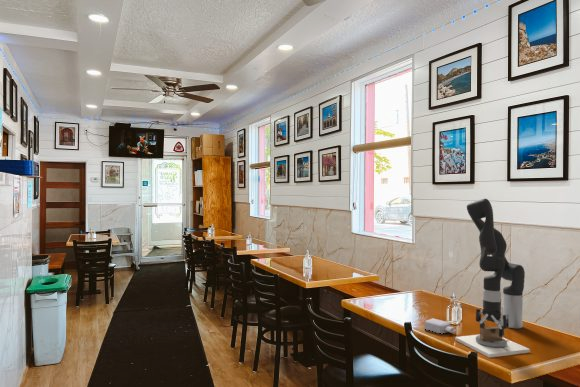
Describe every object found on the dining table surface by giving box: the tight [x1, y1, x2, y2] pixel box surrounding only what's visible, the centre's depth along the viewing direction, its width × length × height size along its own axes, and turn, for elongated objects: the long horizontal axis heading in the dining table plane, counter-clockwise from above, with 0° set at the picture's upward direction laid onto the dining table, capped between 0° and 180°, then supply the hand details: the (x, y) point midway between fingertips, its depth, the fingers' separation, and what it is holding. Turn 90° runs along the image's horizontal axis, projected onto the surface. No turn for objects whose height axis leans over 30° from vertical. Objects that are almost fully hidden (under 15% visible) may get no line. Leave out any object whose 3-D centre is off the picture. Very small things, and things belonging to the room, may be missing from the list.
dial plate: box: [454, 333, 531, 359], centre depth 192 cm, size 22×22×2 cm
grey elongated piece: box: [423, 317, 458, 335], centre depth 212 cm, size 5×9×15 cm
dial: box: [476, 325, 507, 348], centre depth 192 cm, size 13×13×7 cm
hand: (491, 334), depth 192 cm, fingers open, 8 cm apart
